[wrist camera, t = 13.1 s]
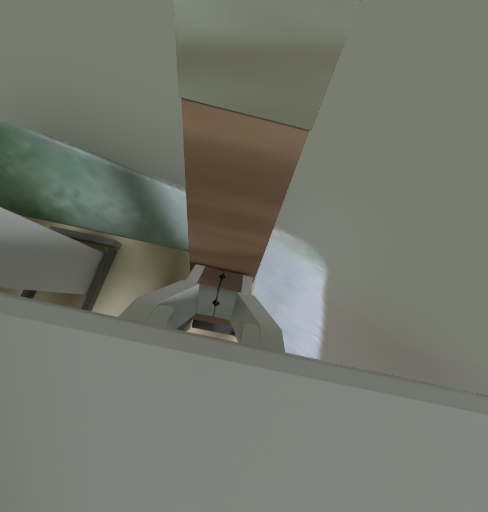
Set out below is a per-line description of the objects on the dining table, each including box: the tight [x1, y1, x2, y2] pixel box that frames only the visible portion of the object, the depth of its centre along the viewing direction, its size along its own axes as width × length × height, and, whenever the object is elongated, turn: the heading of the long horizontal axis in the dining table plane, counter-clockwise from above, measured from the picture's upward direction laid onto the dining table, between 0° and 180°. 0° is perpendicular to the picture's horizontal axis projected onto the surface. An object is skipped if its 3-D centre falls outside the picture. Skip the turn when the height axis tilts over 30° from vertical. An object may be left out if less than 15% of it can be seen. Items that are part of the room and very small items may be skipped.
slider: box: [0, 207, 106, 295], centre depth 11 cm, size 4×4×11 cm
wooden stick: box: [173, 0, 361, 336], centre depth 10 cm, size 2×4×18 cm, turn 78°
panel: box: [0, 215, 256, 342], centre depth 15 cm, size 34×14×5 cm, turn 79°
